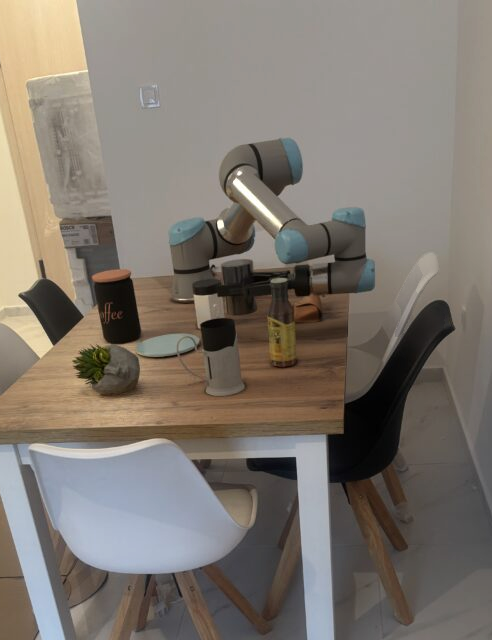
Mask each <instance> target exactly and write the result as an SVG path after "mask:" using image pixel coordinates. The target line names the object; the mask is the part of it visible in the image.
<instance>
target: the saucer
mask: <svg viewBox="0 0 492 640" xmlns="http://www.w3.org/2000/svg"><path fill="white" fill-rule="evenodd" d="M183 336H190V337H192V338H193V339H194V340H195V342H196V345H197V347H198V346H199V345H200V341H201V339H200V338H199V337H198V336H197V335H194V334H190V333H168V334H163V335H157V336H153V337H150V338H147V339H145V340H142V341H141V342H139V343H138V344H137V345H136V346H135V352H136V353H137V354H138V355H140V356H143V357H150V358H160V357H170V356H176V355H177V350H176V344H177V341H178V340H179V339H180V338H181V337H183ZM178 350H179V354H180V355H181V354H183V353H187V352H189V351H192V350H195V346H194V342H193V341H192V339H190V338H183V339H182V340H181V341H180V342H179V345H178Z"/></svg>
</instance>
